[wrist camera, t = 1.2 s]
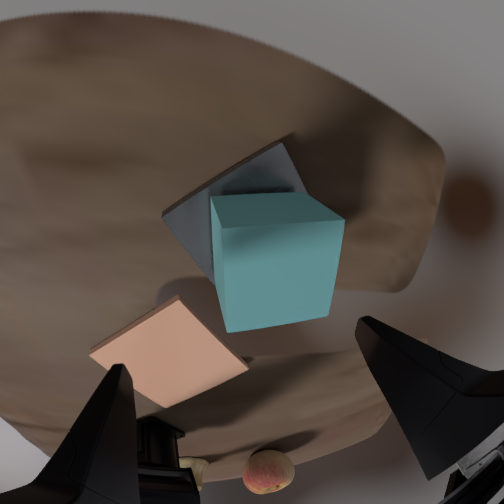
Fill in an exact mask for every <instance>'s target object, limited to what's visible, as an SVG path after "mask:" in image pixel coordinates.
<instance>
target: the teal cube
mask: <svg viewBox="0 0 504 504" xmlns="http://www.w3.org/2000/svg"><path fill="white" fill-rule="evenodd" d="M211 222H212V242H213V260H214V276H215V285H216V289H217V293H218V297H219V302H220V306H221V310H222V314H223V318H224V322H225V326H226V330H227V333H231V332H238V331H244V330H252V329H258V328H264V327H271V326H277V325H283V324H288V323H294V322H299V321H305V320H309V319H315V318H320V317H325V316H328V314H329V309H330V304H331V299H332V294H333V290H334V284H335V279H336V274H337V268H338V263H339V257H340V251H341V245H342V238H343V232H344V225H345V219H343V218H342V217H340V216H339V215H337V214H336V213H334V212H333V211H332V210H330V209H329V208H327V207H326V206H324V205H323V204H321V203H320V202H318V201H317V200H315V199H314V198H312V197H311V196H309V195H308V194H306V193H305V192H289V193H262V194H242V195H226V196H211Z"/></svg>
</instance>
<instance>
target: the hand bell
mask: <svg viewBox="0 0 504 504" xmlns="http://www.w3.org/2000/svg"><path fill="white" fill-rule="evenodd" d="M179 462H180V468H187V467H191V468H192V471H193V475H194V478H195V481H196V484H197V488H198V491H200V490H201V489H202V476H203V473H204V471H205V469H207V467H208V465H209V463H208V461H206V460H204V459H200V458H192V457H180V458H179Z"/></svg>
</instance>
